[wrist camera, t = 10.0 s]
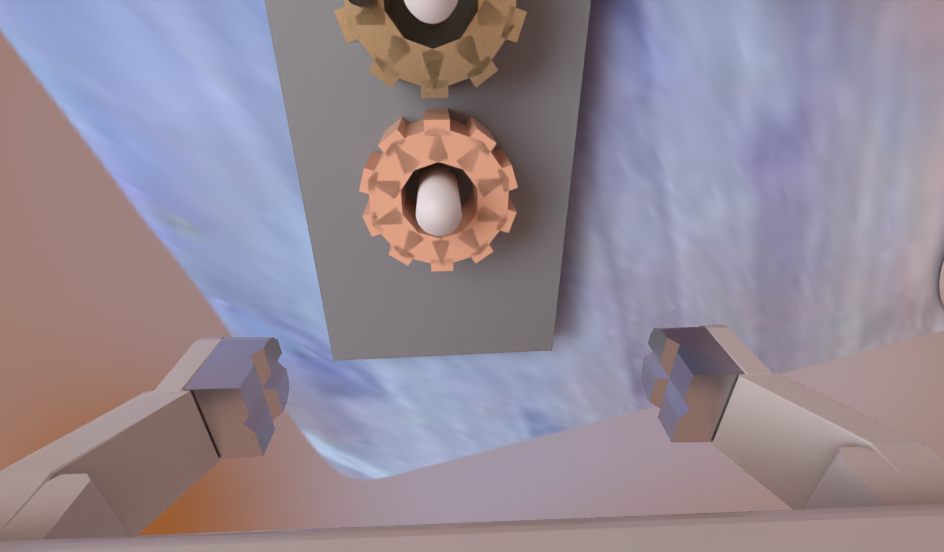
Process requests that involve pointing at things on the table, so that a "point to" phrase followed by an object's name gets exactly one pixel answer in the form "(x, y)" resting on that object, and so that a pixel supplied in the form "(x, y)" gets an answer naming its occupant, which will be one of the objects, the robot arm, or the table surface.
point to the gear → (426, 64)
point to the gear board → (355, 132)
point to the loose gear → (423, 147)
